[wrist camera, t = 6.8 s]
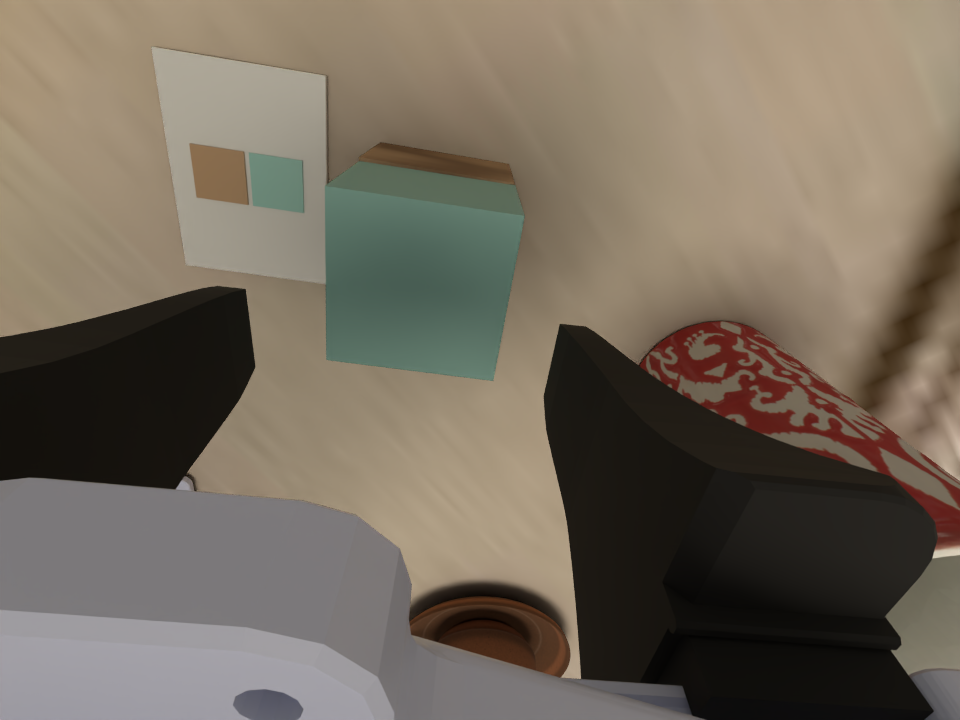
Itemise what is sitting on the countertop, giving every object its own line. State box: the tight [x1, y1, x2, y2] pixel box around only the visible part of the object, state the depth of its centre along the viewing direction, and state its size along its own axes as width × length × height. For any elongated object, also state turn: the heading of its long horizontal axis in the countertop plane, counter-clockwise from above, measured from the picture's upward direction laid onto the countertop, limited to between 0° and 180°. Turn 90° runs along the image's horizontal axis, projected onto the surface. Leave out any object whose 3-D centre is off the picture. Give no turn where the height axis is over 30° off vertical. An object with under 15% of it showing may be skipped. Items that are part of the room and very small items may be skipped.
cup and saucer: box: [409, 596, 570, 678], centre depth 33 cm, size 12×12×6 cm
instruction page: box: [151, 47, 328, 284], centre depth 19 cm, size 6×8×1 cm
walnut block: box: [359, 143, 515, 185], centre depth 19 cm, size 5×5×4 cm
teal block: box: [325, 161, 525, 381], centre depth 15 cm, size 5×5×4 cm
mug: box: [640, 321, 960, 675], centre depth 19 cm, size 13×9×14 cm
